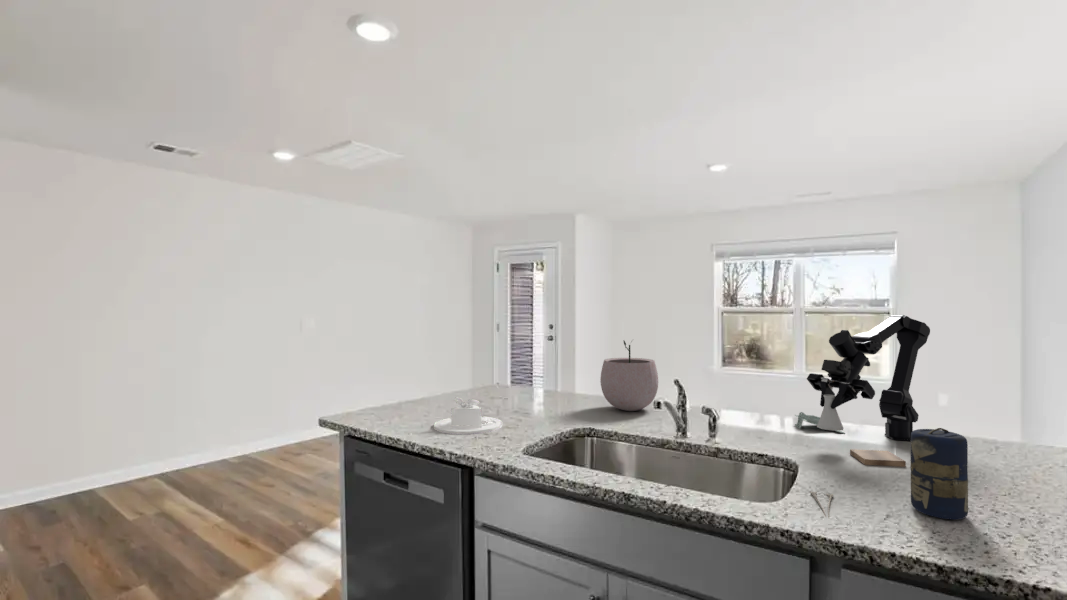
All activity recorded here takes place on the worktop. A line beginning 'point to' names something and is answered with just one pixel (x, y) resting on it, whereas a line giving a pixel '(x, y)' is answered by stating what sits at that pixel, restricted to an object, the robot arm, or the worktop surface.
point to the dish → (467, 419)
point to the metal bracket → (809, 420)
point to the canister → (939, 473)
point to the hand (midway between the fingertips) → (826, 406)
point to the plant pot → (629, 382)
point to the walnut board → (877, 458)
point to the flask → (829, 416)
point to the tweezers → (820, 503)
